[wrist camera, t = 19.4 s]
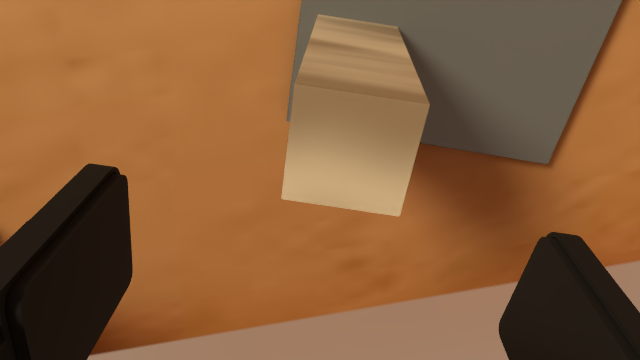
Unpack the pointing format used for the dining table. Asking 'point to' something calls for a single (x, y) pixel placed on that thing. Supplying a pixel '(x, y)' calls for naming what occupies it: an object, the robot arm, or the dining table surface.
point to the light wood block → (354, 118)
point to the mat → (487, 64)
